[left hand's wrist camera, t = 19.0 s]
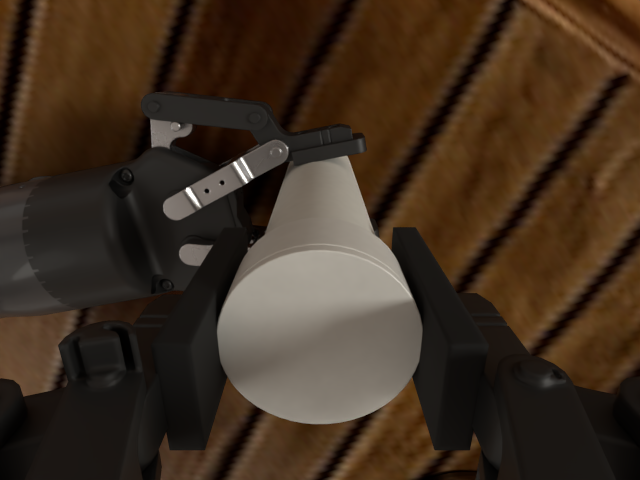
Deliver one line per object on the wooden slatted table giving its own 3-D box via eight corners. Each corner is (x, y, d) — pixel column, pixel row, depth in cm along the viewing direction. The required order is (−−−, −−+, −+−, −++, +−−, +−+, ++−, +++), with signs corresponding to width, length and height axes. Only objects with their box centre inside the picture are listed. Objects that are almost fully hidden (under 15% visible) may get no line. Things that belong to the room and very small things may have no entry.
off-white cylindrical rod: (283, 144, 27) (222, 262, 10) (348, 136, 27) (396, 242, 10) (293, 205, 29) (254, 397, 12) (354, 198, 29) (405, 382, 11)
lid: (425, 232, 11) (449, 269, 9) (383, 377, 13) (395, 436, 11) (243, 202, 11) (225, 233, 9) (226, 354, 13) (207, 410, 11)
